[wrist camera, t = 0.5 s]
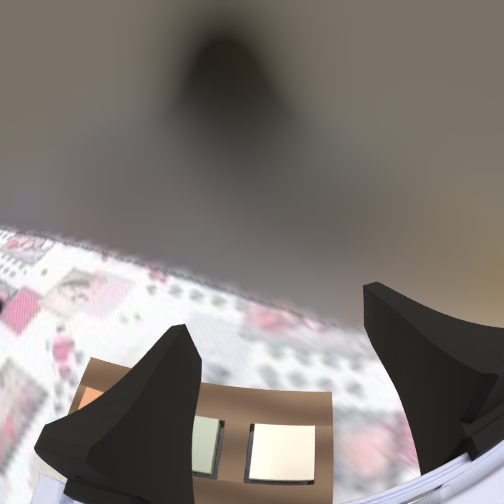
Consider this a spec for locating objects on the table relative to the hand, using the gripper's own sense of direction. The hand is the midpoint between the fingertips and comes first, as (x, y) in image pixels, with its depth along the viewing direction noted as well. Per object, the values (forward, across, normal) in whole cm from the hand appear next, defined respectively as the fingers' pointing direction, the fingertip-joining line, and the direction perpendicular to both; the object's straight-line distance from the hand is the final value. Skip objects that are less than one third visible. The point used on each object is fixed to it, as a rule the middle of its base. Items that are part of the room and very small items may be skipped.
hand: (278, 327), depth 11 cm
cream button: (+2, +3, +17) cm, 17 cm away
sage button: (+3, +10, +15) cm, 18 cm away
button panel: (+3, +10, +16) cm, 19 cm away
